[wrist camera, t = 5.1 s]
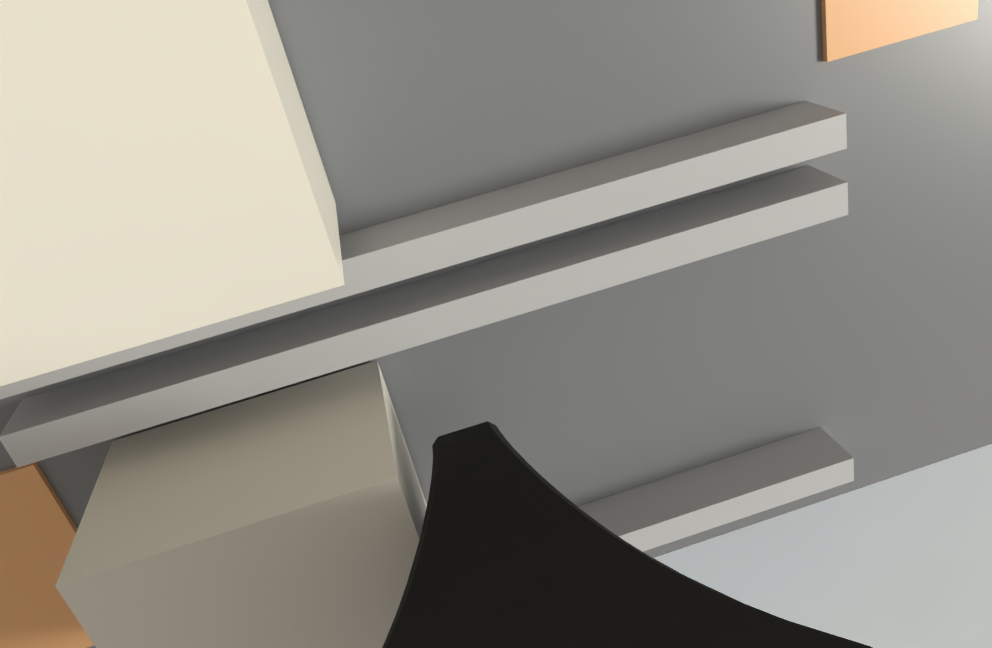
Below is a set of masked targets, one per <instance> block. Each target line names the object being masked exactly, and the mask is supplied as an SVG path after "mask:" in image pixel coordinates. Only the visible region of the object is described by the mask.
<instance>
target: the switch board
mask: <svg viewBox="0 0 992 648" xmlns="http://www.w3.org/2000/svg"><path fill="white" fill-rule="evenodd" d="M268 3H269V6H270V8H271V11H272V14H273V17H274V20H275V23H276V26H277V29H278V32H279V35H280V38H281V41H282V44H283V47H284V50H285V53H286V56H287V59H288V62H289V65H290V68H291V71H292V74H293V77H294V80H295V83H296V86H297V89H298V92H299V95H300V98H301V101H302V104H303V107H304V110H305V113H306V116H307V119H308V122H309V125H310V128H311V131H312V134H313V137H314V140H315V143H316V146H317V149H318V152H319V155H320V158H321V161H322V164H323V167H324V170H325V173H326V176H327V179H328V182H329V185H330V188H331V191H332V194H333V197H334V200H335V203H336V212H337V221H338V230H339V239H340V248H341V257H342V266H343V275H344V284H345V285H343V286H339V287H336V288H332V289H329V290H326V291H322V292H319V293H315V294H312V295H309V296H305V297H302V298H298V299H295V300H292V301H288V302H285V303H282V304H278V305H275V306H271V307H268V308H265V309H261V310H258V311H254V312H251V313H248V314H244V315H241V316H237V317H234V318H231V319H227V320H224V321H221V322H217V323H214V324H210V325H207V326H204V327H200V328H197V329H193V330H190V331H187V332H183V333H180V334H176V335H173V336H170V337H166V338H163V339H159V340H156V341H153V342H149V343H146V344H143V345H139V346H136V347H132V348H129V349H126V350H122V351H119V352H115V353H112V354H109V355H105V356H102V357H98V358H95V359H92V360H88V361H85V362H82V363H78V364H75V365H71V366H68V367H65V368H61V369H58V370H54V371H51V372H48V373H44V374H41V375H37V376H34V377H31V378H27V379H24V380H20V381H17V382H14V383H10V384H7V385H4V386H0V648H96V647H95V646H94V644H93V643H92V641H91V640H90V638H89V636H88V635H87V633H86V632H85V630H84V629H83V627H82V626H81V624H80V623H79V621H78V620H77V618H76V617H75V615H74V614H73V612H72V611H71V609H70V608H69V606H68V605H67V603H66V602H65V600H64V599H63V597H62V596H61V594H60V593H59V591H58V590H57V588H56V587H55V586H56V583H57V581H58V578H59V576H60V573H61V570H62V568H63V565H64V563H65V560H66V558H67V555H68V553H69V550H70V548H71V545H72V543H73V540H74V537H75V535H76V532H77V530H78V527H79V525H80V522H81V520H82V517H83V515H84V512H85V509H86V507H87V504H88V502H89V499H90V497H91V494H92V492H93V489H94V487H95V484H96V481H97V479H98V476H99V474H100V471H101V469H102V466H103V464H104V461H105V459H106V456H107V453H108V451H109V448H110V446H111V443H112V441H114V440H118V439H121V438H124V437H127V436H131V435H134V434H137V433H141V432H144V431H147V430H150V429H154V428H157V427H160V426H164V425H167V424H170V423H173V422H177V421H180V420H183V419H187V418H190V417H193V416H196V415H200V414H203V413H206V412H209V411H213V410H216V409H219V408H223V407H226V406H229V405H232V404H236V403H239V402H242V401H246V400H249V399H252V398H255V397H259V396H262V395H265V394H269V393H272V392H275V391H278V390H282V389H285V388H288V387H292V386H295V385H298V384H301V383H305V382H308V381H311V380H315V379H318V378H321V377H324V376H328V375H331V374H334V373H338V372H341V371H344V370H347V369H351V368H354V367H357V366H361V365H364V364H367V363H370V362H374V361H378V364H379V367H380V369H381V372H382V375H383V378H384V381H385V384H386V387H387V390H388V393H389V396H390V399H391V402H392V404H393V407H394V410H395V413H396V416H397V419H398V422H399V425H400V428H401V431H402V434H403V437H404V440H405V442H406V445H407V448H408V451H409V454H410V457H411V460H412V463H413V466H414V469H415V472H416V475H417V477H418V480H419V483H420V486H421V489H422V492H423V495H424V498H425V501H426V504H427V502H428V497H429V491H430V484H431V476H432V465H433V449H432V445H433V443H434V442H435V440H436V439H437V437H439V436H442V435H445V434H448V433H451V432H455V431H458V430H461V429H464V428H467V427H471V426H474V425H477V424H480V423H483V422H486V421H488V422H490V423H492V424H494V425H496V426H497V427H498V429H499V430H500V432H501V433H502V434H503V436H504V437H505V438H506V440H507V441H508V442H509V443H510V444H511V445H512V447H513V448H514V449H515V450H516V451H517V452H518V453H519V454H520V455H521V456H522V457H523V458H524V459H525V460H526V461H527V462H528V463H529V464H530V465H531V466H532V467H533V468H534V469H535V470H536V471H537V472H538V473H539V474H540V475H541V476H542V477H543V478H545V479H546V480H547V481H548V482H549V483H550V484H551V485H552V486H554V487H555V488H556V489H557V490H558V491H559V492H560V493H562V494H563V495H564V496H565V497H566V498H567V499H569V500H570V501H571V502H572V503H574V504H575V505H576V506H577V507H579V508H580V509H581V510H583V511H584V512H585V513H587V514H588V515H589V516H591V517H592V518H593V519H595V520H596V521H597V522H599V523H600V524H601V525H603V526H604V527H605V528H607V529H608V530H610V531H611V532H613V533H614V534H616V535H617V536H619V537H620V538H622V539H623V540H625V541H626V542H628V543H629V544H631V545H632V546H634V547H636V548H637V549H639V550H641V551H642V552H644V553H645V554H647V555H649V556H650V557H652V558H654V557H657V556H660V555H663V554H666V553H669V552H672V551H675V550H678V549H681V548H684V547H687V546H690V545H693V544H696V543H699V542H702V541H705V540H707V539H710V538H713V537H716V536H719V535H722V534H725V533H728V532H731V531H734V530H737V529H740V528H743V527H746V526H749V525H752V524H755V523H758V522H761V521H764V520H767V519H770V518H773V517H776V516H779V515H782V514H785V513H787V512H790V511H793V510H796V509H799V508H802V507H805V506H808V505H811V504H814V503H817V502H820V501H823V500H826V499H829V498H832V497H835V496H838V495H841V494H844V493H847V492H850V491H853V490H856V489H859V488H862V487H865V486H868V485H870V484H873V483H876V482H879V481H882V480H885V479H888V478H891V477H894V476H897V475H900V474H903V473H906V472H909V471H912V470H915V469H918V468H921V467H924V466H927V465H930V464H933V463H936V462H939V461H942V460H945V459H948V458H951V457H953V456H956V455H959V454H962V453H965V452H968V451H971V450H974V449H977V448H980V447H983V446H986V445H989V444H992V0H268Z"/></svg>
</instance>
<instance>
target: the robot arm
mask: <svg viewBox="0 0 992 648" xmlns="http://www.w3.org/2000/svg"><path fill="white" fill-rule="evenodd" d="M432 449H433V465H432V476H431V484H430V491H429V497H428V502H427V507H426V512H425V517H424V522H423V526H422V531H421V535H420V540H419V543H418V547H417V550H416V554H415V557H414V561H413V564H412V567H411V571H410V574H409V578H408V581H407V584H406V587H405V590H404V593H403V596H402V599H401V602H400V605H399V607H398V610H397V613H396V615H395V618H394V620H393V623H392V625H391V628H390V630H389V633H388V635H387V638H386V640H385V642H384V645H383V647H382V648H872V647H870V646H867V645H864V644H861V643H857V642H854V641H851V640H848V639H844V638H841V637H838V636H835V635H832V634H828V633H825V632H822V631H819V630H816V629H812V628H809V627H806V626H803V625H800V624H796V623H793V622H790V621H787V620H785V619H782V618H779V617H776V616H774V615H771V614H769V613H766V612H764V611H761V610H759V609H756V608H754V607H751V606H748V605H746V604H743V603H741V602H739V601H737V600H735V599H733V598H731V597H729V596H726V595H724V594H722V593H720V592H718V591H716V590H714V589H712V588H710V587H707V586H705V585H703V584H701V583H699V582H697V581H695V580H693V579H690V578H688V577H686V576H684V575H682V574H680V573H679V572H677V571H675V570H673V569H672V568H670V567H668V566H666V565H664V564H663V563H661V562H659V561H657V560H656V559H654V558H652V557H650V556H649V555H647V554H645V553H644V552H642V551H641V550H639V549H637V548H636V547H634V546H632V545H631V544H629V543H628V542H626V541H625V540H623V539H622V538H620V537H619V536H617V535H616V534H614V533H613V532H611V531H610V530H608V529H607V528H605V527H604V526H603V525H601V524H600V523H599V522H597V521H596V520H595V519H593V518H592V517H591V516H589V515H588V514H587V513H585V512H584V511H583V510H581V509H580V508H579V507H577V506H576V505H575V504H574V503H572V502H571V501H570V500H569V499H567V498H566V497H565V496H564V495H563V494H562V493H560V492H559V491H558V490H557V489H556V488H555V487H554V486H552V485H551V484H550V483H549V482H548V481H547V480H546V479H545V478H543V477H542V476H541V475H540V474H539V473H538V472H537V471H536V470H535V469H534V468H533V467H532V466H531V465H530V464H529V463H528V462H527V461H526V460H525V459H524V458H523V457H522V456H521V455H520V454H519V453H518V452H517V451H516V450H515V449H514V448H513V447H512V445H511V444H510V443H509V442H508V441H507V440H506V438H505V437H504V436H503V434H502V433H501V432H500V430H499V429H498V427H497V426H496V425H494V424H492V423H490V422H488V421H486V422H483V423H480V424H477V425H474V426H471V427H467V428H464V429H461V430H458V431H455V432H451V433H448V434H445V435H442V436H439V437H437V439H436V440H435V442H434V443H433V445H432Z"/></svg>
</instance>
